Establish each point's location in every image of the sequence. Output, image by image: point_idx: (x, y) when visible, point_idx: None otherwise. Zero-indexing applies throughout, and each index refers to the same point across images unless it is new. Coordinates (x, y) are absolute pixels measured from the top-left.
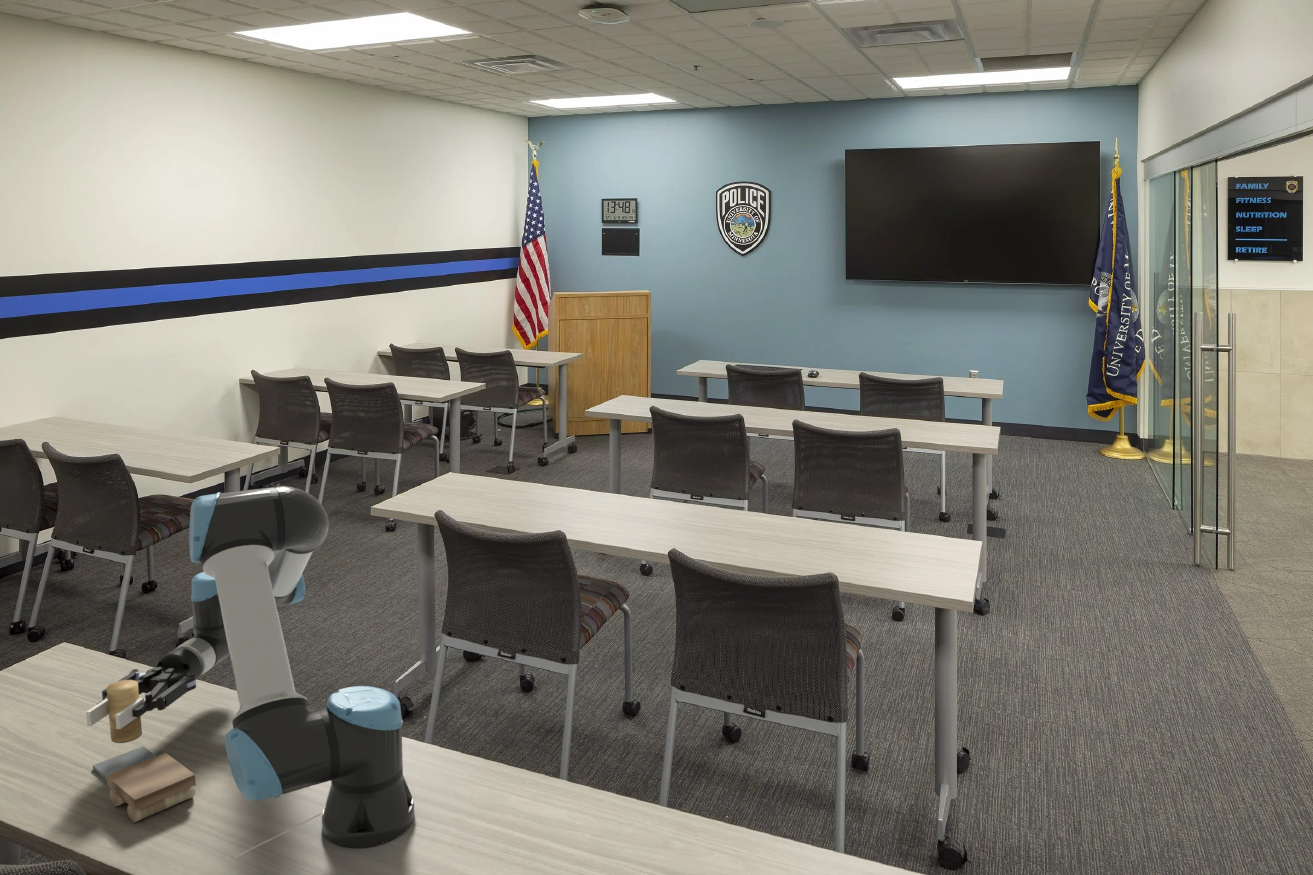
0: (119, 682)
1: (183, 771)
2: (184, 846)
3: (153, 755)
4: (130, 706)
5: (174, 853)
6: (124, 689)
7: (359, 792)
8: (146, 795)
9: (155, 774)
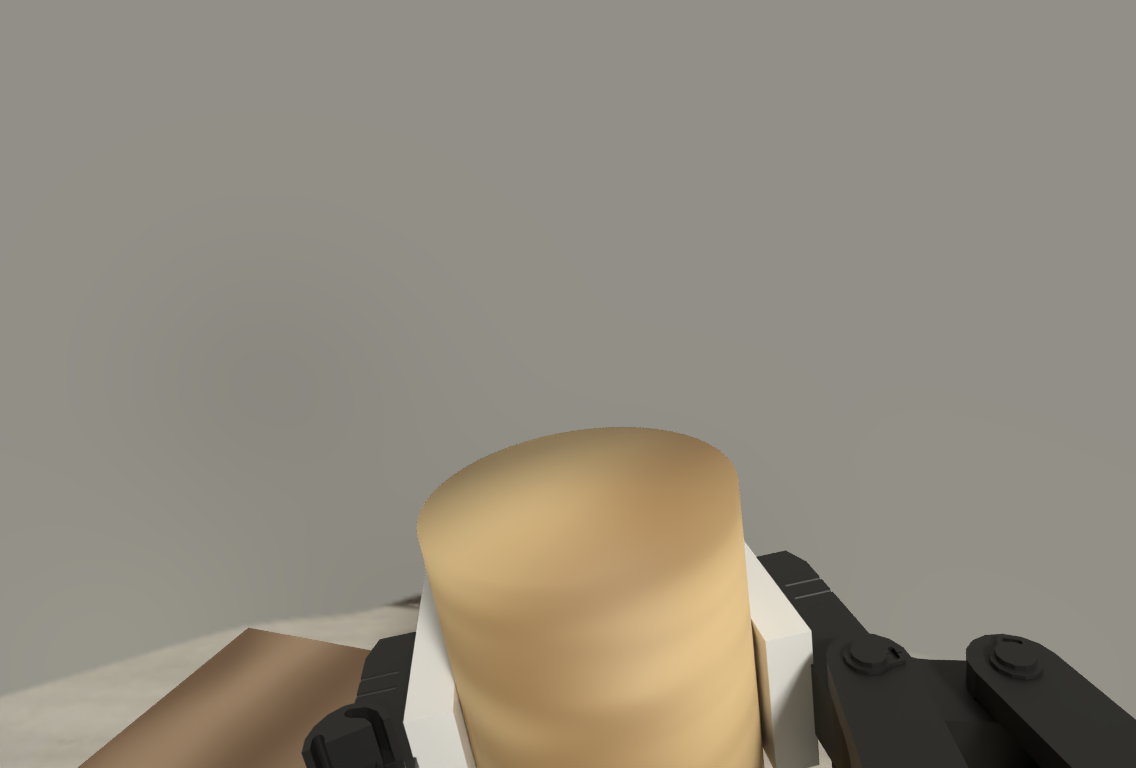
0: (688, 507)
1: None
2: (74, 725)
3: None
4: (430, 593)
5: (105, 694)
6: (493, 476)
7: None
8: (213, 660)
9: (225, 765)
